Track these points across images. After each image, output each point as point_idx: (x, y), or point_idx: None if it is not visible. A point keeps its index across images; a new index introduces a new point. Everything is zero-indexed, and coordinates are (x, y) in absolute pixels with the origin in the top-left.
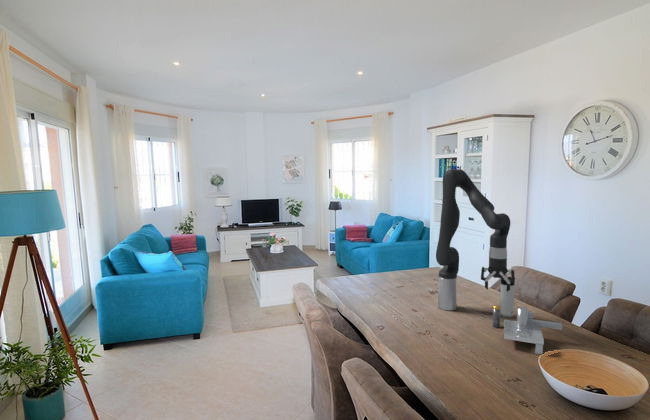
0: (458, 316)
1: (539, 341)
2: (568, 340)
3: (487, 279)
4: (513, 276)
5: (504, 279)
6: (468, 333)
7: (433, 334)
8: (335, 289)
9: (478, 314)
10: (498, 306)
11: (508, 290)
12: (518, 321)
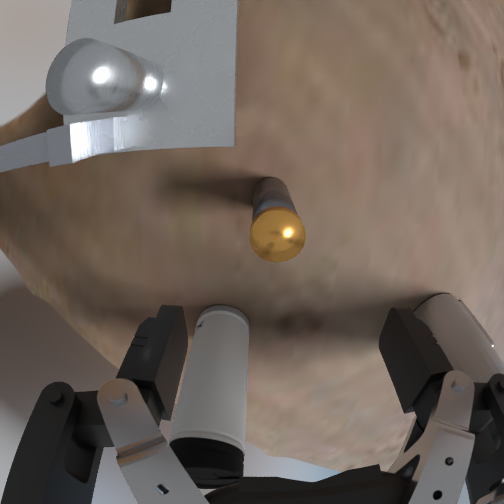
0: (417, 253)
1: None
2: (30, 174)
3: (454, 402)
4: (24, 470)
5: (171, 451)
6: (394, 79)
7: (492, 61)
8: None
9: (336, 301)
10: (265, 236)
11: (200, 410)
12: (143, 60)
